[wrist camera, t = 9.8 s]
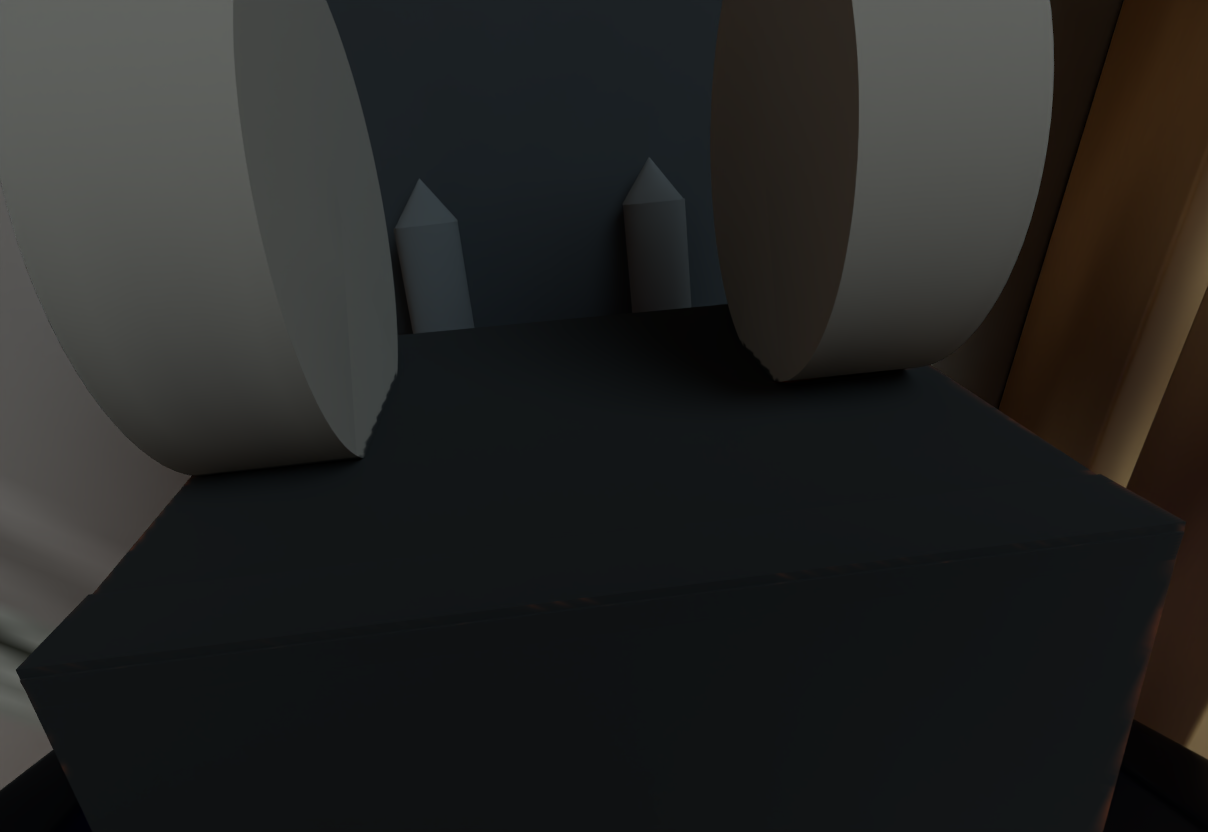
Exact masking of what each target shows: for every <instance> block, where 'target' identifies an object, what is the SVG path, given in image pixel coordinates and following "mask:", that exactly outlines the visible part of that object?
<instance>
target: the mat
mask: <svg viewBox="0 0 1208 832" xmlns="http://www.w3.org/2000/svg"><path fill="white" fill-rule="evenodd" d="M326 1H327V4H328V6H329V9H330V11H331V14H332V16H333V19H334V22H335V24H336V27H337V30H338V33H339V35H340V38H341V41H342V44H343V47H344V50H345V53H346V56H347V59H348V62H349V66H350V69H351V72H352V75H353V79H354V82H355V86H356V89H357V93H358V96H359V100H360V104H361V107H362V111H363V115H364V119H365V123H366V127H367V131H368V135H369V139H370V144H371V148H372V153H373V157H374V162H375V167H376V171H377V176H378V181H379V186H380V192H381V197H382V203H383V209H384V214H385V221H386V227H387V233H388V240H389V247H390V255H391V263H392V272H393V281H394V291H395V303H396V317H397V335H405V334H413V330H412V325H411V319H410V314H409V309H408V303H407V298H406V293H405V287H404V282H403V277H402V271H401V266H400V261H399V255H398V250H397V245H396V239H395V234H394V228H395V227H396V225H397V223H398V221H399V219H400V217H401V215H402V213H403V210H404V208H405V206H406V204H407V202H408V200H409V198H410V196H411V194H412V192H413V190H414V188H415V186H416V184H417V182H418V180H419V178H420V180H421V181H422V182H423V183H424V184H425V185H426V186H427V187H428V188H429V189H430V191H431V192H432V193H433V194H434V195H435V196H436V197H437V198H438V199H439V200H440V201H441V203H442V204H443V205H444V206H445V207H446V208H447V209H448V210H449V211H450V212H451V214H452V215H453V216H454V217H455V218H456V219H457V220H458V221H457V222H458V228H459V234H460V241H461V247H462V253H463V259H464V266H465V272H466V278H467V285H468V291H469V297H470V303H471V310H472V316H473V322H474V328H479V327H489V326H500V325H510V324H521V323H532V322H542V321H553V320H563V319H574V318H584V317H595V316H606V315H616V314H627V313H632V303H631V292H630V280H629V269H628V257H627V246H626V234H625V223H624V212H623V205H622V204H623V202H624V200H625V199H626V197H627V195H628V193H629V191H630V190H631V188H632V186H633V184H634V182H635V181H636V179H637V177H638V175H639V174H640V172H641V170H642V168H643V166H644V165H645V163H646V161H647V159H648V157H650V158H651V160H652V161H653V162H654V163H655V165H656V166H657V167H658V168H659V169H660V171H661V172H662V173H663V174H664V176H665V177H666V178H667V179H668V180H669V182H670V183H671V184H672V185H673V187H674V188H675V189H676V190H677V192H678V193H679V194H680V195H681V196H682V198H683V199H685V212H686V228H687V244H688V261H689V277H690V293H691V307H701V306H711V305H722V304H728V303H727V299H726V294H725V290H724V285H723V281H722V276H721V270H720V264H719V258H718V251H717V244H716V236H715V227H714V217H713V204H712V188H711V160H710V127H711V99H712V83H713V70H714V59H715V49H716V41H717V33H718V26H719V19H720V13H721V7H722V1H723V0H326Z"/></svg>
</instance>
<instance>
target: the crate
mask: <svg viewBox="0 0 1208 832" xmlns="http://www.w3.org/2000/svg"><path fill="white" fill-rule="evenodd" d="M998 410H999V411H1001V412H1002V413H1004V414H1005V415H1007V416H1009V417H1010V418H1012V419H1013V420H1015V421H1016V422H1018V423H1019V424H1021V425H1022V426H1024V427H1025V428H1027V429H1028V430H1030V431H1031V432H1033V433H1034V434H1036V435H1037V436H1039V437H1041V438H1042V439H1044V440H1045V441H1047V442H1048V443H1050V444H1051V445H1053V446H1054V447H1056V448H1057V449H1059V450H1060V451H1062V452H1063V453H1065V454H1066V455H1068V456H1069V457H1071V458H1073V459H1074V460H1076V461H1077V462H1079V463H1080V464H1082V465H1083V466H1085V467H1086V468H1088V469H1089V470H1091V471H1092V472H1094V473H1095V474H1102V475H1104V476H1105V477H1107V478H1109V479H1111V480H1113V481H1114V482H1116V483H1118V484H1120V485H1121V486H1123V487H1125V488H1127V489H1129V490H1130V491H1132V492H1134V493H1136V494H1138V495H1139V496H1141V497H1143V498H1145V499H1146V500H1148V501H1150V502H1152V503H1154V504H1155V505H1157V506H1159V507H1161V508H1162V509H1164V510H1166V511H1168V512H1170V513H1171V514H1173V515H1175V516H1177V517H1179V518H1180V519H1182V520H1184V521H1186V525H1185V529H1184V532H1185V533H1184V536H1183V538H1182V541H1181V544H1180V547H1179V551H1178V555H1177V558H1176V562H1175V566H1174V569H1173V573H1172V577H1171V581H1170V584H1169V588H1168V592H1167V595H1166V599H1165V603H1164V607H1163V610H1162V614H1161V618H1160V622H1159V625H1158V629H1157V633H1156V636H1155V640H1154V644H1153V648H1152V651H1151V655H1150V659H1149V662H1148V666H1147V670H1146V674H1145V677H1144V681H1143V685H1142V688H1141V692H1140V696H1139V700H1138V703H1137V707H1136V711H1135V714H1134V718H1133V719H1135V720H1137V721H1138V722H1140V723H1142V724H1144V725H1146V726H1148V727H1149V728H1151V729H1153V730H1155V731H1157V732H1159V733H1160V734H1162V735H1164V736H1166V737H1168V738H1170V739H1172V740H1173V741H1175V742H1177V743H1179V744H1181V745H1183V746H1184V747H1186V748H1188V749H1190V750H1192V751H1194V752H1195V753H1197V754H1199V755H1201V756H1203V757H1205V758H1206V759H1208V0H1124V1H1123V4H1122V7H1121V11H1120V14H1119V17H1118V20H1117V24H1116V27H1115V30H1114V33H1113V37H1112V40H1111V43H1110V47H1109V50H1108V53H1107V56H1106V60H1105V63H1104V66H1103V69H1102V73H1101V76H1100V79H1099V82H1098V86H1097V89H1096V92H1095V96H1094V99H1093V102H1092V105H1091V109H1090V112H1089V115H1088V118H1087V122H1086V125H1085V128H1084V131H1083V135H1082V138H1081V141H1080V145H1079V148H1078V151H1077V154H1076V158H1075V161H1074V164H1073V167H1072V171H1071V174H1070V177H1069V180H1068V184H1067V187H1066V190H1065V193H1064V197H1063V200H1062V203H1061V207H1060V210H1059V213H1058V216H1057V220H1056V223H1055V226H1054V229H1053V233H1052V236H1051V239H1050V242H1049V246H1048V249H1047V252H1046V256H1045V259H1044V262H1043V265H1042V269H1041V272H1040V275H1039V278H1038V282H1037V285H1036V288H1035V291H1034V295H1033V298H1032V301H1031V305H1030V308H1029V311H1028V314H1027V318H1026V321H1025V324H1024V327H1023V331H1022V334H1021V337H1020V340H1019V344H1018V347H1017V350H1016V354H1015V357H1014V360H1013V363H1012V367H1011V370H1010V373H1009V376H1008V380H1007V383H1006V386H1005V389H1004V393H1003V396H1002V399H1001V403H1000V406H999V409H998Z"/></svg>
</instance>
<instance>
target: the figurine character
mask: <svg viewBox="0 0 1208 832" xmlns="http://www.w3.org/2000/svg"><path fill="white" fill-rule="evenodd" d="M1053 80H1054V41H1053V26H1052V14H1051V6H1050V0H723V1H722V7H721V13H720V19H719V26H718V33H717V41H716V49H715V59H714V70H713V83H712V99H711V127H710V160H711V188H712V204H713V217H714V227H715V236H716V244H717V251H718V258H719V264H720V270H721V276H722V281H723V285H724V290H725V294H726V299H727V303H728V304H722V305H711V306H701V307H691V293H690V277H689V261H688V244H687V228H686V212H685V199H683V198H682V196H681V195H680V194H679V193H678V192H677V190H676V189H675V188H674V187H673V185H672V184H671V183H670V182H669V180H668V179H667V178H666V177H665V176H664V174H663V173H662V172H661V171H660V169H659V168H658V167H657V166H656V165H655V163H654V162H653V161H652V160H651V158H650V157H648V159H647V161H646V163H645V165H644V166H643V168H642V170H641V172H640V174H639V175H638V177H637V179H636V181H635V182H634V184H633V186H632V188H631V190H630V191H629V193H628V195H627V197H626V199H625V200H624V202H623V204H622V205H623V212H624V223H625V234H626V246H627V257H628V269H629V280H630V292H631V303H632V313H627V314H616V315H606V316H595V317H584V318H574V319H563V320H553V321H542V322H532V323H521V324H510V325H500V326H489V327H479V328H474V322H473V316H472V310H471V303H470V297H469V291H468V285H467V278H466V272H465V266H464V259H463V253H462V247H461V241H460V234H459V228H458V222H457V221H458V220H457V219H456V218H455V217H454V216H453V215H452V214H451V212H450V211H449V210H448V209H447V208H446V207H445V206H444V205H443V204H442V203H441V201H440V200H439V199H438V198H437V197H436V196H435V195H434V194H433V193H432V192H431V191H430V189H429V188H428V187H427V186H426V185H425V184H424V183H423V182H422V181H421V180H420V178H419V180H418V182H417V184H416V186H415V188H414V190H413V192H412V194H411V196H410V198H409V200H408V202H407V204H406V206H405V208H404V210H403V213H402V215H401V217H400V219H399V221H398V223H397V225H396V227H395V228H394V234H395V239H396V245H397V250H398V255H399V261H400V266H401V271H402V277H403V282H404V287H405V293H406V298H407V303H408V309H409V314H410V319H411V325H412V330H413V334H405V335H397V317H396V303H395V291H394V281H393V272H392V263H391V255H390V247H389V240H388V233H387V227H386V221H385V214H384V209H383V203H382V197H381V192H380V186H379V181H378V176H377V171H376V167H375V162H374V157H373V153H372V148H371V144H370V139H369V135H368V131H367V127H366V123H365V119H364V115H363V111H362V107H361V104H360V100H359V96H358V93H357V89H356V86H355V82H354V79H353V75H352V72H351V69H350V66H349V62H348V59H347V56H346V53H345V50H344V47H343V44H342V41H341V38H340V35H339V33H338V30H337V27H336V24H335V22H334V19H333V16H332V14H331V11H330V9H329V6H328V4H327V1H326V0H0V180H1V184H2V189H3V193H4V197H5V201H6V205H7V209H8V212H9V216H10V219H11V223H12V226H13V229H14V233H15V236H16V239H17V242H18V245H19V248H20V251H21V254H22V257H23V260H24V263H25V266H26V268H27V271H28V273H29V276H30V279H31V281H32V284H33V286H34V289H35V291H36V294H37V296H38V298H39V301H40V303H41V305H42V307H43V309H44V312H45V314H46V316H47V318H48V321H49V323H50V325H51V327H52V329H53V331H54V333H55V334H56V336H57V338H58V340H59V342H60V344H61V346H62V348H63V350H64V352H65V353H66V355H67V357H68V359H69V360H70V362H71V364H72V366H73V367H74V369H75V371H76V372H77V374H78V375H79V377H80V378H81V380H82V381H83V383H84V385H85V386H86V388H87V389H88V391H89V392H90V393H91V395H92V396H93V397H94V399H95V400H96V402H97V403H98V404H99V406H100V407H101V408H102V410H103V411H104V412H105V413H106V414H107V416H108V417H109V418H110V419H111V421H112V422H113V423H114V424H115V425H116V426H117V427H118V428H119V429H120V430H121V431H122V433H123V434H124V435H125V436H126V437H127V438H128V439H129V440H131V441H132V442H133V443H134V444H135V445H136V446H137V447H138V448H139V449H141V450H142V451H143V452H145V453H146V454H147V455H148V456H150V457H151V458H153V459H154V460H156V461H157V462H159V463H161V464H162V465H164V466H166V467H168V468H170V469H172V470H174V471H177V472H180V473H183V474H187V475H192V476H191V478H190V479H189V480H188V481H187V482H186V484H185V485H184V486H183V487H182V488H181V490H180V491H179V492H178V493H177V494H176V496H175V497H174V498H173V499H172V500H171V501H170V503H169V504H168V505H167V506H166V507H165V509H164V510H163V511H162V512H161V513H160V515H159V516H158V517H157V518H156V519H155V521H154V522H153V523H152V524H151V525H150V526H149V528H148V529H147V530H146V531H145V532H144V534H143V535H142V536H141V537H140V538H139V540H138V541H137V542H136V543H135V544H134V546H133V547H132V548H131V549H130V550H129V551H128V553H127V554H126V555H125V556H124V557H123V559H122V560H121V561H120V562H119V563H118V565H117V566H116V567H115V568H114V569H113V571H112V572H111V573H110V574H109V575H108V577H107V578H106V579H105V580H104V581H103V582H102V584H101V585H100V586H99V587H98V588H97V590H96V591H95V592H94V593H93V594H90V595H88V596H87V597H86V598H85V599H84V600H83V601H82V602H81V603H80V604H79V605H78V606H77V607H76V608H75V609H74V610H73V611H72V612H71V613H70V614H69V615H68V616H67V617H66V618H65V619H64V621H63V622H62V623H61V624H60V625H59V626H58V627H57V628H56V629H55V630H54V631H53V632H52V633H51V634H50V635H49V636H48V637H47V638H46V639H45V640H44V641H43V642H42V643H41V644H40V645H39V646H38V647H37V648H36V649H35V650H34V652H33V653H32V654H31V655H30V656H29V657H28V658H27V659H26V660H25V661H24V662H23V663H22V664H21V665H20V666H19V667H18V668H17V669H16V671H17V674H18V676H19V678H20V682H21V684H22V686H23V687H24V689H25V691H26V693H27V695H28V697H29V699H30V701H31V703H32V705H33V707H34V710H35V712H36V714H37V716H38V718H39V720H40V722H41V724H42V726H43V729H44V731H45V733H46V735H47V737H48V739H49V741H50V743H51V745H52V748H53V750H54V752H55V754H56V756H57V758H58V760H59V762H60V764H61V767H62V769H63V771H64V773H65V775H66V777H67V779H68V781H69V783H70V786H71V788H72V790H73V792H74V794H75V796H76V798H77V800H78V802H79V805H80V807H81V809H82V811H83V813H84V815H85V817H86V819H87V821H88V824H89V826H90V828H91V830H92V832H1103V830H1104V826H1105V822H1106V819H1107V815H1108V811H1109V807H1110V804H1111V800H1112V796H1113V793H1114V789H1115V785H1116V781H1117V778H1118V774H1119V770H1120V767H1121V763H1122V759H1123V755H1124V752H1125V748H1126V744H1127V741H1128V737H1129V733H1130V729H1131V726H1132V722H1133V718H1134V714H1135V711H1136V707H1137V703H1138V700H1139V696H1140V692H1141V688H1142V685H1143V681H1144V677H1145V674H1146V670H1147V666H1148V662H1149V659H1150V655H1151V651H1152V648H1153V644H1154V640H1155V636H1156V633H1157V629H1158V625H1159V622H1160V618H1161V614H1162V610H1163V607H1164V603H1165V599H1166V595H1167V592H1168V588H1169V584H1170V581H1171V577H1172V573H1173V569H1174V566H1175V562H1176V558H1177V555H1178V551H1179V547H1180V544H1181V541H1182V538H1183V536H1184V533H1185V532H1184V529H1185V525H1186V521H1184V520H1182V519H1180V518H1179V517H1177V516H1175V515H1173V514H1171V513H1170V512H1168V511H1166V510H1164V509H1162V508H1161V507H1159V506H1157V505H1155V504H1154V503H1152V502H1150V501H1148V500H1146V499H1145V498H1143V497H1141V496H1139V495H1138V494H1136V493H1134V492H1132V491H1130V490H1129V489H1127V488H1125V487H1123V486H1121V485H1120V484H1118V483H1116V482H1114V481H1113V480H1111V479H1109V478H1107V477H1105V476H1104V475H1102V474H1095V473H1094V472H1092V471H1091V470H1089V469H1088V468H1086V467H1085V466H1083V465H1082V464H1080V463H1079V462H1077V461H1076V460H1074V459H1073V458H1071V457H1069V456H1068V455H1066V454H1065V453H1063V452H1062V451H1060V450H1059V449H1057V448H1056V447H1054V446H1053V445H1051V444H1050V443H1048V442H1047V441H1045V440H1044V439H1042V438H1041V437H1039V436H1037V435H1036V434H1034V433H1033V432H1031V431H1030V430H1028V429H1027V428H1025V427H1024V426H1022V425H1021V424H1019V423H1018V422H1016V421H1015V420H1013V419H1012V418H1010V417H1009V416H1007V415H1005V414H1004V413H1002V412H1001V411H999V410H998V409H996V408H995V407H993V406H992V405H990V404H989V403H987V402H986V401H984V400H983V399H981V398H980V397H978V396H976V395H975V394H973V393H972V392H970V391H969V390H967V389H966V388H964V387H963V386H961V385H960V384H958V383H957V382H955V381H954V380H952V379H951V378H949V377H948V376H946V375H944V374H943V373H941V372H940V371H938V370H937V369H935V368H934V367H932V366H931V365H930V364H933V363H936V362H938V361H940V360H942V359H944V358H945V357H947V356H948V355H950V354H952V353H953V352H954V351H955V350H957V349H958V348H959V347H960V346H961V345H962V344H963V343H964V342H965V341H966V340H967V339H968V338H969V337H970V336H971V335H972V334H973V333H974V332H975V331H976V329H977V328H978V327H979V326H980V325H981V323H982V322H983V320H984V319H985V318H986V316H987V315H988V313H989V312H990V310H991V309H992V307H993V305H994V304H995V302H996V301H997V299H998V297H999V295H1000V294H1001V292H1002V290H1003V288H1004V286H1005V284H1006V282H1007V280H1008V278H1009V276H1010V274H1011V271H1012V269H1013V267H1014V265H1015V263H1016V260H1017V258H1018V255H1019V252H1020V250H1021V247H1022V245H1023V242H1024V239H1025V236H1026V233H1027V230H1028V227H1029V224H1030V221H1031V218H1032V214H1033V211H1034V207H1035V203H1036V200H1037V196H1038V192H1039V187H1040V183H1041V178H1042V174H1043V169H1044V163H1045V157H1046V152H1047V146H1048V138H1049V131H1050V123H1051V113H1052V100H1053Z"/></svg>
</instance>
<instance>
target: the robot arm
mask: <svg viewBox="0 0 1208 832" xmlns="http://www.w3.org/2000/svg"><path fill="white" fill-rule="evenodd" d="M0 832H92V830H91V828H90V826H89V824H88V821H87V819H86V817H85V815H84V813H83V811H82V809H81V807H80V805H79V802H78V800H77V798H76V796H75V794H74V792H73V790H72V788H71V786H70V783H69V781H68V779H67V777H66V775H65V773H64V771H63V769H62V767H61V764H60V762H59V760H58V758H57V756H56V754H55V752H54V750H52V751H51V752H50V753H48V754H47V755H46V756H44V757H43V758H42V759H40V760H39V761H38V762H37V763H35V764H34V765H33V766H31V767H30V768H29V769H27V770H26V771H25V772H24V773H22V774H21V775H20V776H18V777H17V778H16V779H15V780H13V781H12V782H11V783H9V784H8V785H7V786H5V787H4V788H3V789H2V790H0ZM1103 832H1208V759H1206V758H1205V757H1203V756H1201V755H1199V754H1197V753H1195V752H1194V751H1192V750H1190V749H1188V748H1186V747H1184V746H1183V745H1181V744H1179V743H1177V742H1175V741H1173V740H1172V739H1170V738H1168V737H1166V736H1164V735H1162V734H1160V733H1159V732H1157V731H1155V730H1153V729H1151V728H1149V727H1148V726H1146V725H1144V724H1142V723H1140V722H1138V721H1137V720H1135V719H1133V722H1132V726H1131V729H1130V733H1129V737H1128V741H1127V744H1126V748H1125V752H1124V755H1123V759H1122V763H1121V767H1120V770H1119V774H1118V778H1117V781H1116V785H1115V789H1114V793H1113V796H1112V800H1111V804H1110V807H1109V811H1108V815H1107V819H1106V822H1105V826H1104V830H1103Z"/></svg>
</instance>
